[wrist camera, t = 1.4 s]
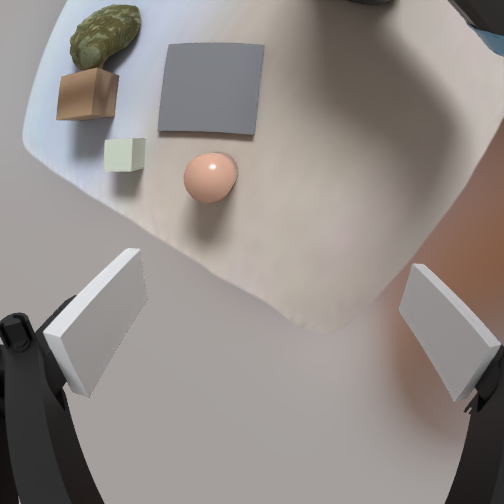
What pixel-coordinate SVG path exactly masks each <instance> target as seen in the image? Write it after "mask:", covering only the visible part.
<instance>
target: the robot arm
mask: <svg viewBox="0 0 504 504" xmlns="http://www.w3.org/2000/svg"><path fill="white" fill-rule="evenodd" d="M352 1H355V2H360V3H365V4H383V3H387V2H389V1H391V0H352ZM448 1H449V2H450V4H451V5H452V6H453V7H454V8H455V9H456V10H457V11H458V12H459V14H460V15H461V16H462V17H463V18H464V19H465V21H466V23H467V25H468V26H469V27H470V28H471V29H473V30H474V31H475V32H476V33H477V35H478V36H479V37H480V38H481V39H482V41H483V42H484V43H485V44H486V46H487V47H488V48H489V49H490V50H491V51H493V52H494V53H496V54H498V55H500V56H503V57H504V0H448ZM147 300H148V298H147V292H146V285H145V279H144V271H143V263H142V255H141V249H131V248H127V249H125V250H124V251H123V252H122V253H121V254H120V255H119V256H118V257H117V258H116V259H114V260H113V262H111V263H110V264H109V265H108V266H107V267H106V268H105V269H104V270H103V271H102V272H101V273H100V274H98V276H96V277H95V278H94V279H93V280H92V281H91V282H90V283H89V284H88V285H87V286H86V287H85V288H84V289H83V290H82V291H81V292H80V293H79V294H78V295H75V296H73V297H71V298H69V299H68V300H66V301H65V302H64V303H63V304H62V305H61V306H60V307H59V308H58V310H56V311H55V312H54V313H53V315H51V316H50V317H49V318H48V319H47V320H46V322H44V324H43V325H42V326H41V327H40V328H39V329H38V330H37V331H36V332H35V333H34V331H33V328H32V326H31V323H30V321H29V318H28V316H27V315H25V314H24V313H13V314H11V315H8V316H7V317H5V318H3V319H2V320H1V321H0V337H1V339H2V341H3V343H4V345H0V504H19V499H20V502H21V504H104V502H103V500H102V498H101V495H100V494H99V491H98V489H97V487H96V485H95V483H94V480H93V478H92V475H91V473H90V471H89V468H88V466H87V463H86V461H85V458H84V455H83V452H82V450H81V447H80V444H79V441H78V438H77V435H76V432H75V428H74V425H73V421H72V418H71V414H70V410H69V407H68V403H67V398H66V394H65V392H64V390H63V388H62V387H63V386H64V384H65V383H66V381H67V383H68V385H69V387H70V388H71V390H72V392H74V393H76V394H79V395H82V396H85V397H88V398H90V396H91V394H92V392H93V390H94V388H95V386H96V385H97V383H98V381H99V379H100V378H101V376H102V374H103V372H104V370H105V369H106V367H107V365H108V364H109V362H110V360H111V358H112V357H113V355H114V353H115V351H116V350H117V348H118V346H119V345H120V343H121V341H122V340H123V338H124V337H125V335H126V333H127V332H128V330H129V328H130V327H131V325H132V323H133V322H134V320H135V319H136V317H137V315H138V314H139V312H140V311H141V309H142V307H143V306H144V304H145V303H146V301H147ZM398 311H399V312H400V314H401V315H402V317H403V318H404V320H405V321H406V323H407V324H408V326H409V327H410V329H411V330H412V332H413V333H414V335H415V336H416V338H417V339H418V341H419V343H420V344H421V346H422V348H423V349H424V351H425V352H426V354H427V356H428V357H429V359H430V361H431V362H432V364H433V366H434V367H435V369H436V371H437V372H438V374H439V376H440V378H441V379H442V381H443V383H444V384H445V386H446V388H447V390H448V392H449V393H450V395H451V397H452V399H453V401H454V402H456V401H460V400H462V399H466V398H467V397H468V396H469V394H470V393H471V392H472V390H473V389H474V387H475V388H476V390H477V391H478V392H477V394H476V395H475V397H474V398H473V399H472V400H471V402H470V403H469V404H468V406H467V407H466V408H465V410H464V412H467V410H468V409H469V408H470V407H472V410H471V411H470V412H469V414H471V416H470V422H469V427H468V431H467V436H466V440H465V444H464V448H463V452H462V455H461V459H460V462H459V466H458V469H457V472H456V475H455V478H454V481H453V484H452V487H451V489H450V492H449V495H448V497H447V499H446V502H445V504H504V346H503V345H502V344H501V343H500V342H499V340H498V339H497V338H496V337H495V336H494V335H493V334H492V332H491V331H490V330H489V329H488V328H487V327H486V326H485V325H484V324H483V322H482V321H481V320H480V319H479V318H478V317H477V316H476V315H475V314H474V313H473V312H472V311H471V310H470V309H469V308H468V307H467V305H466V304H465V303H463V301H462V300H461V299H459V297H458V296H457V295H456V294H455V293H454V292H453V291H452V290H451V289H450V288H449V287H448V286H447V285H446V284H444V283H443V282H442V281H441V280H440V279H439V278H438V277H437V276H436V275H435V274H434V273H433V272H432V271H431V270H430V269H429V268H427V267H426V266H425V265H424V264H412V266H411V270H410V274H409V277H408V280H407V284H406V287H405V290H404V293H403V297H402V300H401V303H400V306H399V308H398ZM18 495H19V499H18Z"/></svg>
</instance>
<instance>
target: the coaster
mask: <svg viewBox="0 0 504 504" xmlns="http://www.w3.org/2000/svg"><path fill="white" fill-rule="evenodd" d="M263 53H264V45H257V44H242V43H183V44H169V46H168V52H167V58H166V64H165V70H164V78H163V85H162V93H161V102H160V111H159V122H158V131H202V132H222V133H236V134H248V135H254V134H255V124H256V115H257V106H258V97H259V88H260V79H261V70H262V61H263Z"/></svg>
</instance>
